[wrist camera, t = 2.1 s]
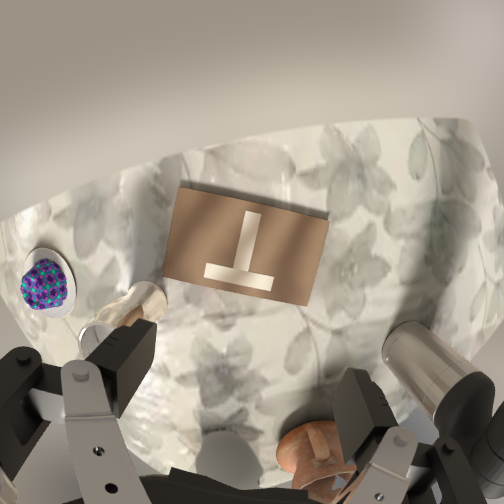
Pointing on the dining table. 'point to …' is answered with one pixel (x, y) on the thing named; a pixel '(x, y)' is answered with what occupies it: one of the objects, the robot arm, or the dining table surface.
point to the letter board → (244, 247)
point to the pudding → (48, 284)
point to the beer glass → (122, 314)
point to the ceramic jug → (314, 459)
